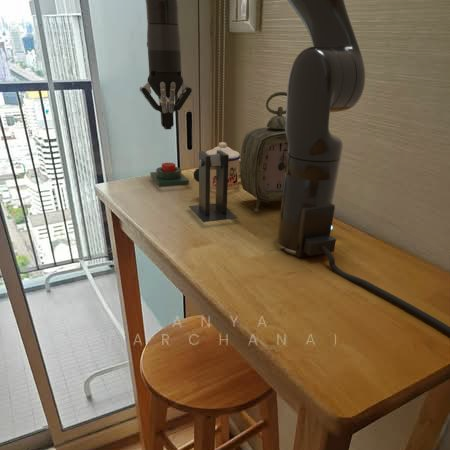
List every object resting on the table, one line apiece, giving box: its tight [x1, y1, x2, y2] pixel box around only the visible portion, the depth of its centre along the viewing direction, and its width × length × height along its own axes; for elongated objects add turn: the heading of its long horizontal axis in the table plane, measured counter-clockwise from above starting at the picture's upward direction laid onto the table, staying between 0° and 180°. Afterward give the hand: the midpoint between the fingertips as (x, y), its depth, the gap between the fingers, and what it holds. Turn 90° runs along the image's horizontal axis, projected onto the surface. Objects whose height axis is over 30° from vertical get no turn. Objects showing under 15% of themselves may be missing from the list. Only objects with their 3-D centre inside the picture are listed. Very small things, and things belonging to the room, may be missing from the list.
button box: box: [149, 166, 190, 188], centre depth 110 cm, size 10×8×4 cm
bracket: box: [188, 150, 238, 223], centre depth 88 cm, size 10×8×14 cm
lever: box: [193, 154, 221, 183], centre depth 90 cm, size 13×3×3 cm
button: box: [161, 162, 177, 172], centre depth 109 cm, size 4×4×2 cm
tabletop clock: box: [239, 91, 288, 213], centre depth 91 cm, size 14×9×25 cm, turn 114°
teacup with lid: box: [205, 141, 241, 190], centre depth 107 cm, size 12×9×12 cm
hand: (167, 128), depth 103 cm, fingers closed
